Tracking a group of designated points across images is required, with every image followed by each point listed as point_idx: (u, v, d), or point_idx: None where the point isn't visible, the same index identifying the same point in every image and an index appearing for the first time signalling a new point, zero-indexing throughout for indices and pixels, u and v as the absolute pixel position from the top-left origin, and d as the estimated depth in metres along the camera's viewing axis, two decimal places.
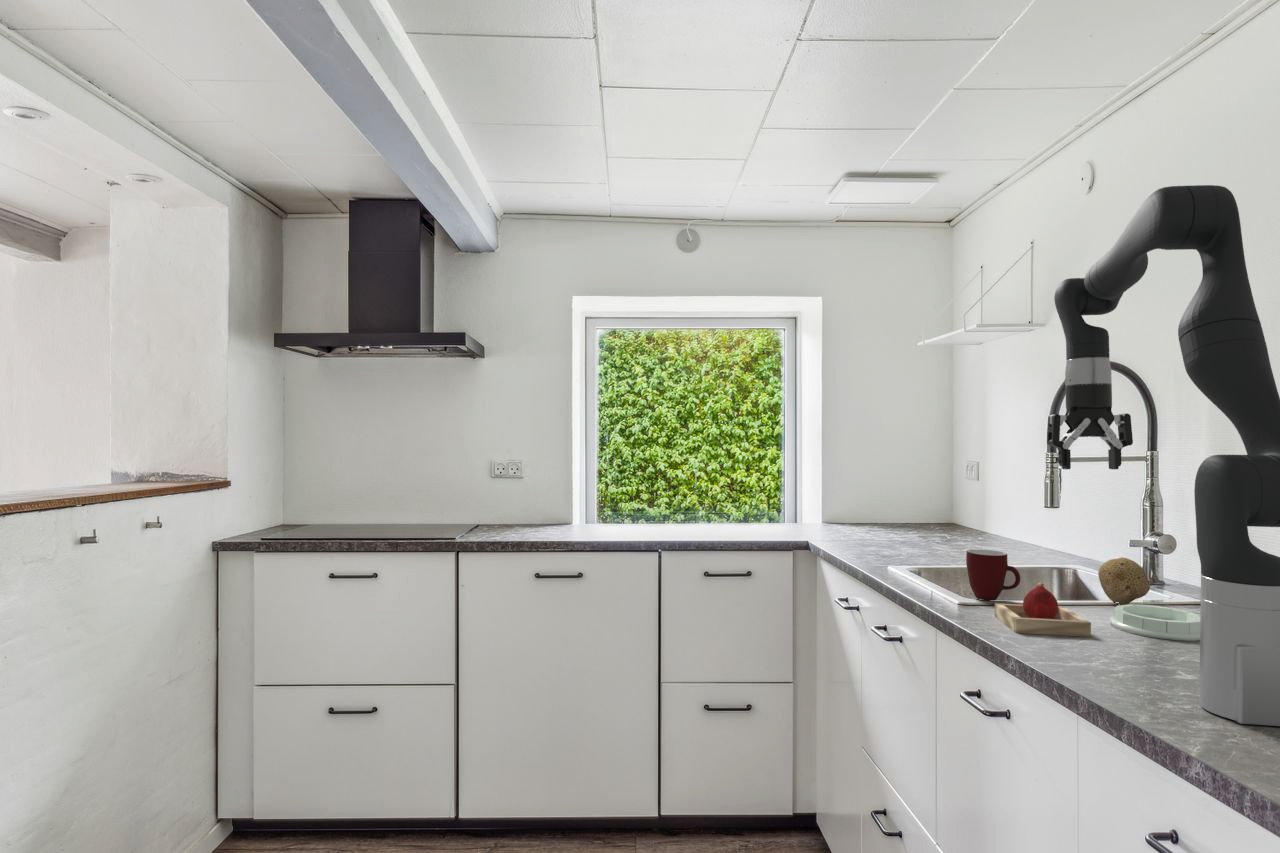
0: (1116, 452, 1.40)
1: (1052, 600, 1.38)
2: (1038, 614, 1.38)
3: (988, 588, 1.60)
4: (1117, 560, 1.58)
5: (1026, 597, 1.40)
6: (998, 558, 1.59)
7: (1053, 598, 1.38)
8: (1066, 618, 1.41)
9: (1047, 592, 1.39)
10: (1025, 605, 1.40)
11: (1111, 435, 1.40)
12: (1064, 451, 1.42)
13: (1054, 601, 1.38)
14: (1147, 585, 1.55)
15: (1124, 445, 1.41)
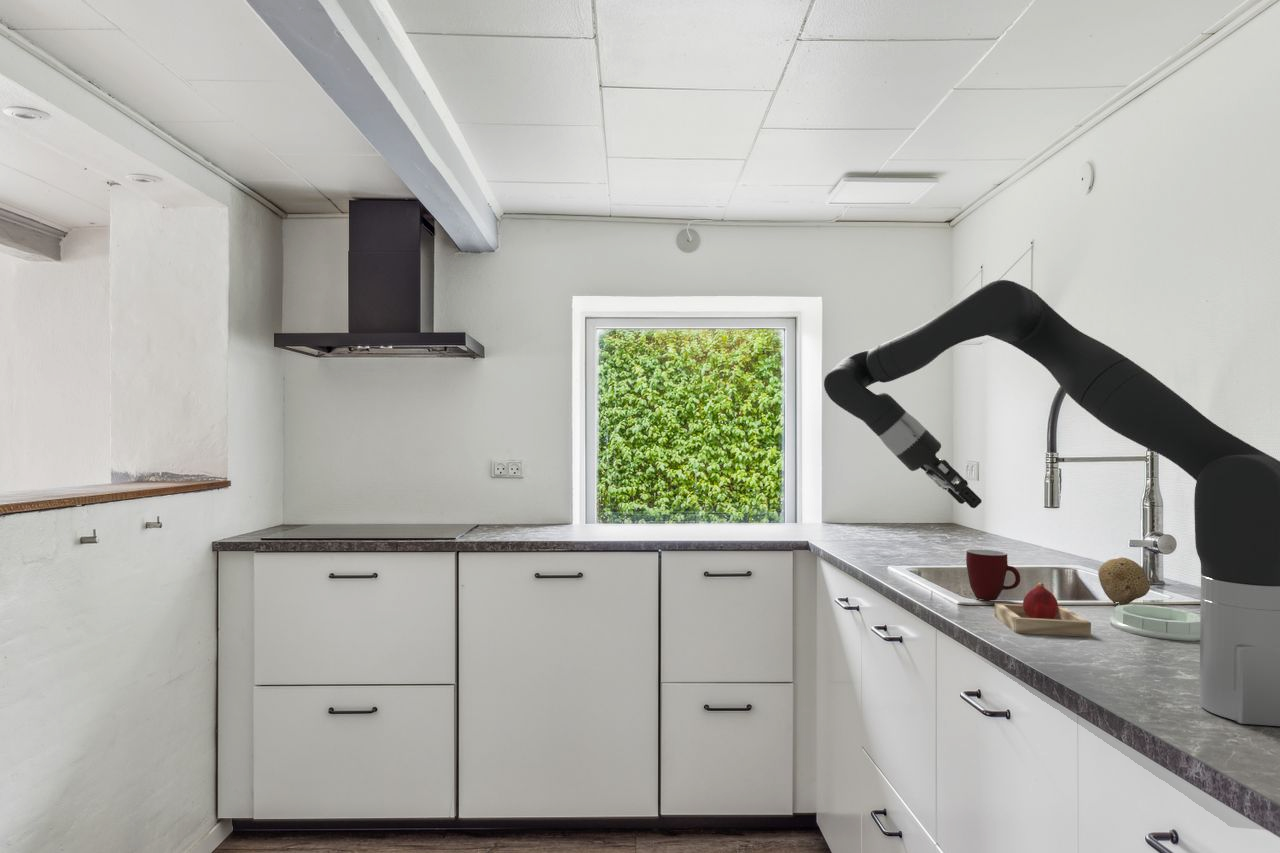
0: None
1: (1052, 600, 1.38)
2: (1038, 614, 1.38)
3: (988, 588, 1.60)
4: (1117, 560, 1.58)
5: (1026, 597, 1.40)
6: (998, 558, 1.59)
7: (1053, 598, 1.38)
8: (1066, 618, 1.41)
9: (1047, 592, 1.39)
10: (1025, 605, 1.40)
11: None
12: (968, 489, 1.38)
13: (1054, 601, 1.38)
14: (1147, 585, 1.55)
15: None
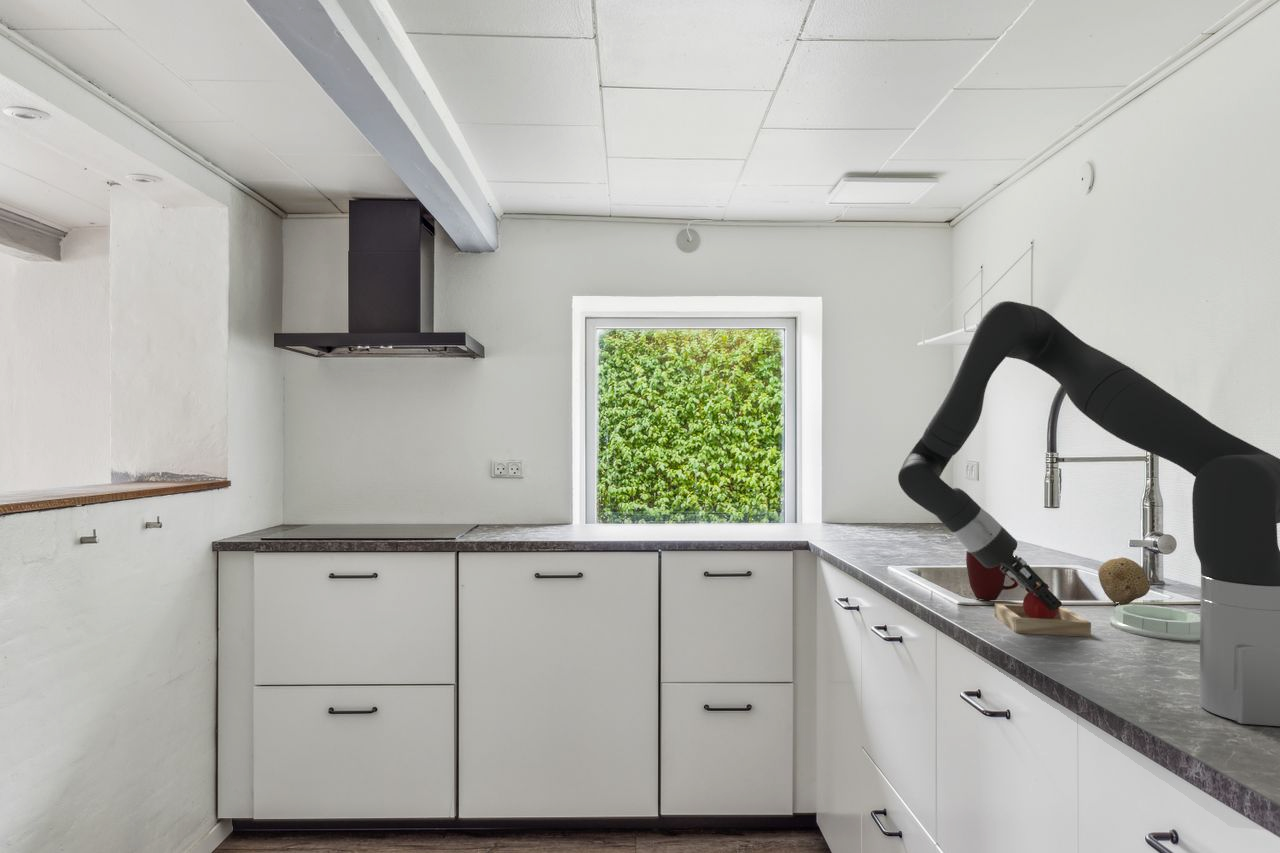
0: None
1: None
2: (1038, 614, 1.38)
3: (988, 588, 1.60)
4: (1117, 560, 1.58)
5: (1026, 597, 1.40)
6: None
7: None
8: (1066, 618, 1.41)
9: None
10: (1025, 605, 1.40)
11: None
12: (1047, 591, 1.36)
13: None
14: (1147, 585, 1.55)
15: None
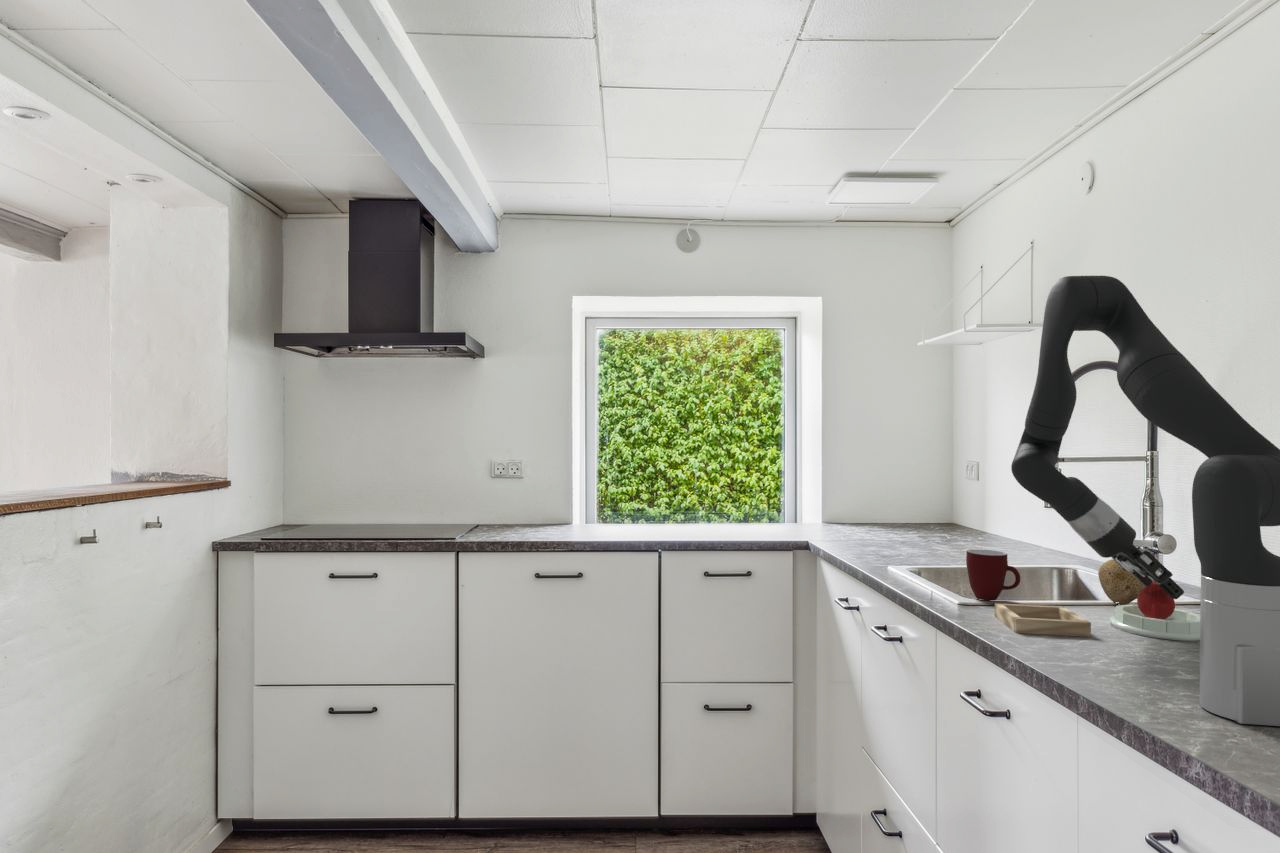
0: None
1: (1169, 597, 1.37)
2: (1156, 613, 1.37)
3: (988, 588, 1.60)
4: None
5: (1141, 595, 1.39)
6: (998, 558, 1.59)
7: None
8: (1066, 618, 1.41)
9: (1163, 590, 1.37)
10: (1140, 603, 1.39)
11: None
12: (1169, 579, 1.34)
13: (1171, 599, 1.37)
14: None
15: None
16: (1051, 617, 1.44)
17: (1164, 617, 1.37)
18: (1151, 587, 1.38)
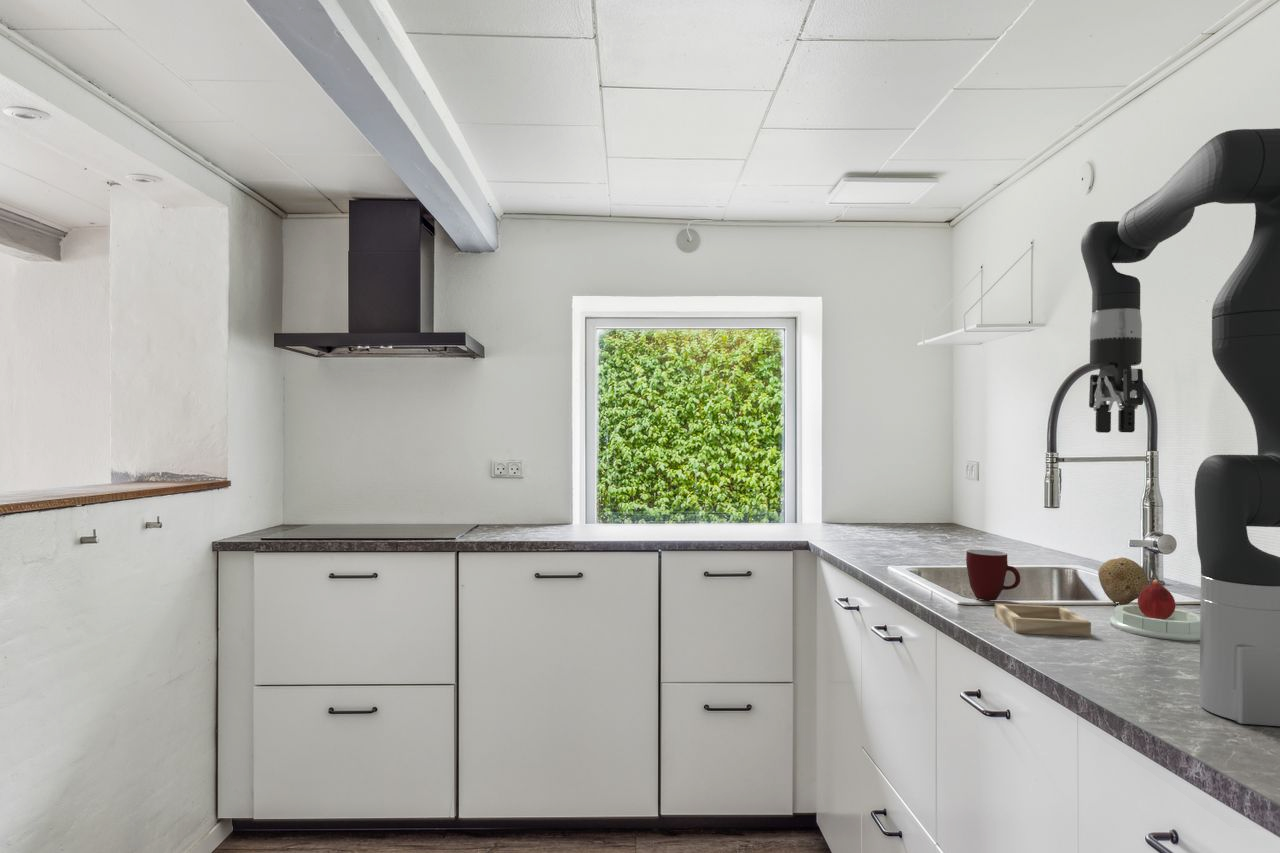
0: None
1: (1169, 596, 1.37)
2: (1156, 611, 1.37)
3: (988, 588, 1.60)
4: (1117, 560, 1.58)
5: (1142, 594, 1.39)
6: (998, 558, 1.59)
7: (1170, 595, 1.37)
8: (1066, 618, 1.41)
9: (1164, 589, 1.38)
10: (1141, 602, 1.39)
11: None
12: None
13: (1172, 598, 1.37)
14: (1147, 585, 1.55)
15: None
16: (1051, 617, 1.44)
17: (1164, 616, 1.37)
18: (1152, 586, 1.39)
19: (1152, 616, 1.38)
